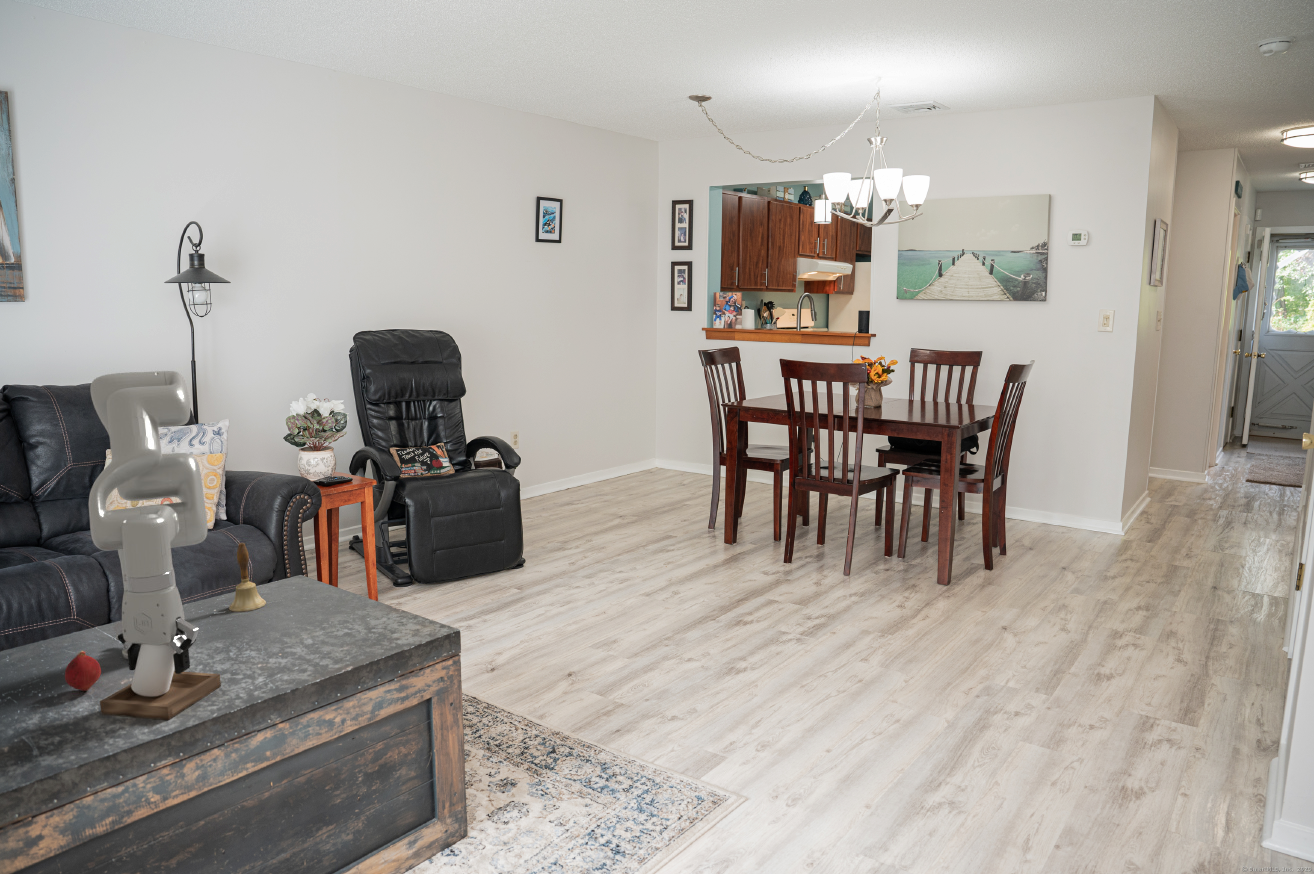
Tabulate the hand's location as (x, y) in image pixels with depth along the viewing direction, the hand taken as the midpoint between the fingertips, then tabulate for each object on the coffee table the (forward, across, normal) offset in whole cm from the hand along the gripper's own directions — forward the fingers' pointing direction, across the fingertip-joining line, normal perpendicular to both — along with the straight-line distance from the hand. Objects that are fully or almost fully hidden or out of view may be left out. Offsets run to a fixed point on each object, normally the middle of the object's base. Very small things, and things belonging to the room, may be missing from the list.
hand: (159, 669), depth 164 cm
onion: (+6, -18, +1) cm, 19 cm away
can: (+5, -3, +1) cm, 6 cm away
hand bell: (+6, -17, +49) cm, 52 cm away
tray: (+6, 0, 0) cm, 6 cm away
